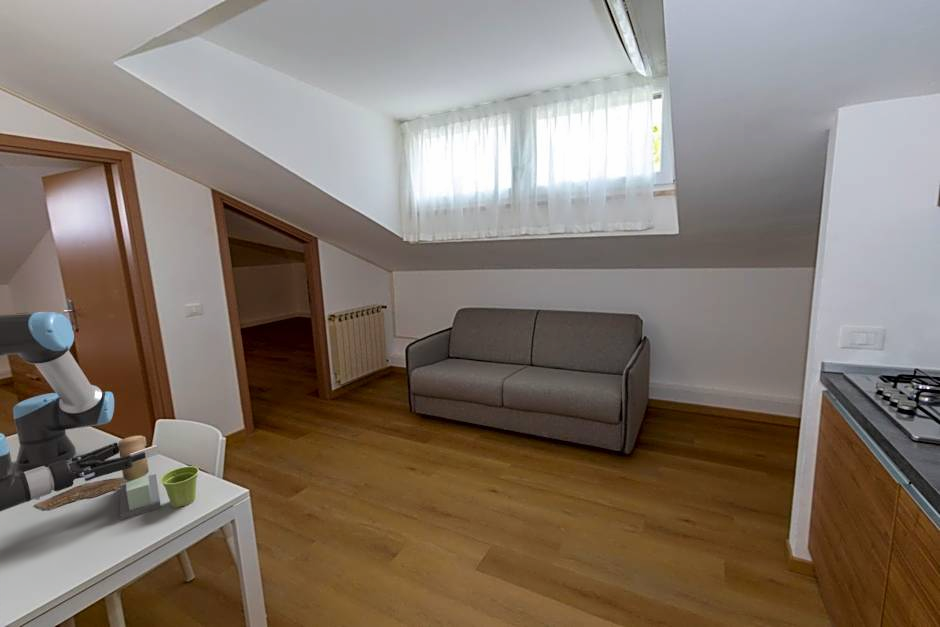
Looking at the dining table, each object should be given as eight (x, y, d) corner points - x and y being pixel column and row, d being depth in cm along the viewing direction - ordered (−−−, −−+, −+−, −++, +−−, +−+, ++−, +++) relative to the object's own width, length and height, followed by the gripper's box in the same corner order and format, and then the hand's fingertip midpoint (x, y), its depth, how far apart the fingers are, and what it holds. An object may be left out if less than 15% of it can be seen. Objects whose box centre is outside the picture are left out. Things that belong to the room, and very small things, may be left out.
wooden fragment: (30, 516, 121) (29, 513, 121) (37, 498, 130) (36, 495, 130) (143, 484, 137) (143, 481, 137) (143, 470, 145) (142, 467, 145)
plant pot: (209, 495, 130) (206, 469, 128) (179, 514, 121) (175, 486, 120) (187, 489, 133) (183, 464, 131) (156, 507, 124) (152, 480, 123)
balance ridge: (121, 488, 134) (117, 466, 133) (156, 478, 140) (153, 456, 138) (121, 519, 119) (117, 495, 118) (160, 507, 124) (157, 483, 123)
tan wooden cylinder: (122, 473, 128) (117, 439, 126) (147, 466, 132) (142, 433, 130) (124, 482, 124) (118, 447, 122) (149, 474, 128) (144, 440, 126)
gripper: (43, 478, 119) (140, 447, 137) (62, 506, 107) (166, 467, 125) (38, 454, 118) (137, 425, 136) (57, 478, 105) (163, 443, 123)
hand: (151, 445), depth 130 cm, fingers open, 9 cm apart
